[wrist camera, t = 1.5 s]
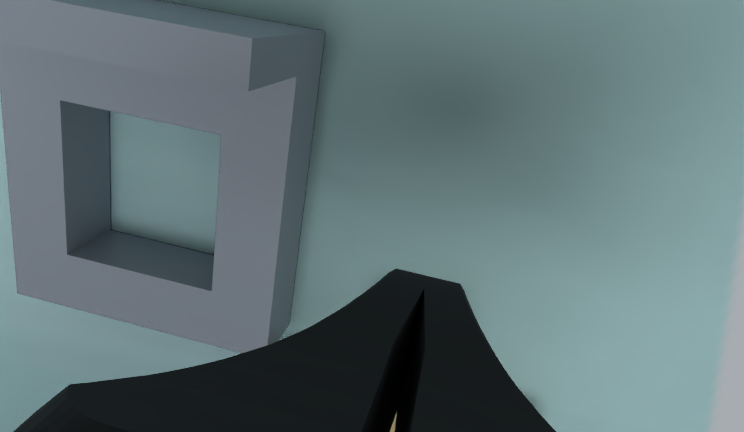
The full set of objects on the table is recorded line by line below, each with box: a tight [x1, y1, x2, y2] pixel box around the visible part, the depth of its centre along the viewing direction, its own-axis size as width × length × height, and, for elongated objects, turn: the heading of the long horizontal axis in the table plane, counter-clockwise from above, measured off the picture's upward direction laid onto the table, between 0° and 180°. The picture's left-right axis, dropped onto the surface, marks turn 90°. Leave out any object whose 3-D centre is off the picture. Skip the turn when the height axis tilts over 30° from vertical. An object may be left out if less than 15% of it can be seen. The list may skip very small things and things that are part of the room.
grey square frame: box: [0, 0, 325, 353], centre depth 18 cm, size 11×10×6 cm
